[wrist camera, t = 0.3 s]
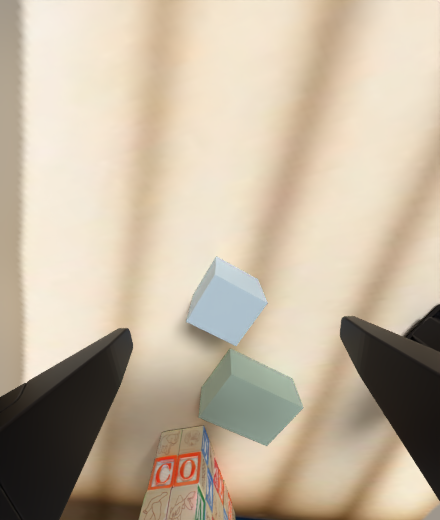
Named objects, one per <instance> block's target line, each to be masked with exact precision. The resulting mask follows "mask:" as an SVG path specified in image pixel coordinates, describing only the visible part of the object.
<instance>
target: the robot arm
mask: <svg viewBox="0 0 440 520" xmlns="http://www.w3.org/2000/svg"><path fill="white" fill-rule="evenodd" d="M340 338H341V340H342V342H343V344H344V346H345V348H346V350H347V352H348V354H349V356H350V358H351V360H352V362H353V364H354V366H355V368H356V370H357V372H358V373H359V375H360V377H361V378H362V380H363V382H364V383H365V385H366V386H367V388H368V389H369V391H370V393H371V394H372V396H373V397H374V399H375V400H376V402H377V404H378V405H379V407H380V408H381V410H382V411H383V413H384V415H385V416H386V418H387V419H388V421H389V422H390V424H391V426H392V427H393V429H394V430H395V432H396V433H397V435H398V437H399V438H400V440H401V441H402V443H403V444H404V446H405V447H406V449H407V451H408V452H409V454H410V455H411V457H412V458H413V460H414V462H415V463H416V465H417V466H418V468H419V469H420V471H421V473H422V474H423V476H424V477H425V479H426V480H427V482H428V484H429V485H430V487H431V488H432V490H433V491H434V493H435V495H436V496H437V498H438V499H439V501H440V305H438V306H437V307H436V308H435V309H434V310H433V311H432V312H431V313H430V314H429V315H428V316H427V317H426V318H425V319H424V320H423V321H422V322H421V323H420V324H419V325H418V326H417V327H416V328H415V329H414V330H413V331H412V332H411V333H410V334H409V335H408V336H407V337H406V338H405V337H402V336H400V335H398V334H395V333H393V332H390V331H388V330H386V329H383V328H381V327H379V326H376V325H374V324H371V323H369V322H367V321H364V320H362V319H359V318H357V317H355V316H344V317H343V318H342V320H341V328H340ZM132 350H133V342H132V338H131V334H130V330H129V329H128V328H119V329H117V330H115V331H113V332H112V333H110V334H108V335H107V336H105V337H103V338H101V339H100V340H98V341H96V342H94V343H93V344H91V345H89V346H88V347H86V348H84V349H82V350H81V351H79V352H77V353H76V354H74V355H72V356H70V357H69V358H67V359H65V360H63V361H62V362H60V363H58V364H57V365H55V366H53V367H51V368H50V369H48V370H46V371H45V372H43V373H41V374H39V375H38V376H36V377H34V378H33V379H31V380H29V381H28V382H27V383H24V384H22V385H20V386H19V387H17V388H15V389H14V390H12V391H10V392H8V393H7V394H5V395H3V396H1V397H0V520H59V519H60V517H61V515H62V513H63V510H64V508H65V506H66V504H67V502H68V499H69V497H70V495H71V493H72V491H73V488H74V486H75V484H76V482H77V480H78V477H79V475H80V473H81V471H82V469H83V466H84V464H85V462H86V460H87V458H88V455H89V453H90V451H91V449H92V447H93V444H94V442H95V440H96V438H97V436H98V433H99V431H100V429H101V427H102V425H103V422H104V420H105V418H106V416H107V414H108V411H109V409H110V407H111V405H112V403H113V400H114V398H115V396H116V394H117V391H118V389H119V387H120V385H121V382H122V379H123V376H124V373H125V370H126V367H127V365H128V362H129V359H130V356H131V353H132Z"/></svg>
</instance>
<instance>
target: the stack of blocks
mask: <svg viewBox="0 0 440 520" xmlns="http://www.w3.org/2000/svg"><path fill="white" fill-rule="evenodd" d="M139 520H235V512H234V509H233V506H232V502H231V499H230V496H229V493H228V490H227V487H226V484H225V481H224V480H223V478H222V475H221V473H220V470H219V468H218V465H217V462H216V460H215V457H214V452H213V449H212V447H211V444H210V441H209V439H208V436H207V433H206V430H205V427H204V426H198V427H191V428H185V429H178V430H172V431H166V432H162V434H161V438H160V442H159V445H158V450H157V455H156V459H155V461H154V465H153V469H152V473H151V477H150V481H149V485H148V490H147V492H146V494H145V497H144V501H143V505H142V509H141V513H140V517H139Z"/></svg>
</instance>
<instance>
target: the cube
mask: <svg viewBox="0 0 440 520" xmlns="http://www.w3.org/2000/svg"><path fill="white" fill-rule="evenodd" d="M267 303H268V302H267V300H266V298H265V295H264V293H263V290H262V288H261V286H260V283H259V281H258V279H256V278H255V277H253V276H251V275H249V274H247V273H246V272H244V271H242V270H240V269H238V268H237V267H235V266H233V265H231V264H229V263H228V262H226V261H224V260H222V259H220V258H218V257H217V256H216V258H215V259H214V261H213V263H212V264H211V266H210V268H209V269H208V271H207V273H206V274H205V276H204V278H203V279H202V281H201V283H200V284H199V286H198V288H197V289H196V291H195V293H194V294H193V297H192V301H191V305H190V309H189V312H188V316H187V320H186V322H188V323H190V324H192V325H194V326H196V327H198V328H200V329H202V330H204V331H206V332H208V333H210V334H212V335H214V336H216V337H218V338H220V339H222V340H225V341H227V342H229V343H231V344H233V345H235V346H237V344H238V343H239V341H240V340H241V339H242V337H243V336H244V335H245V333H246V332H247V331H248V329H249V328H250V326H251V325H252V324H253V322H254V321H255V320H256V318H257V317H258V316H259V314H260V313H261V311H262V310H263V309H264V307H265V306H266V305H267Z"/></svg>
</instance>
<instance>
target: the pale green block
mask: <svg viewBox="0 0 440 520" xmlns="http://www.w3.org/2000/svg"><path fill="white" fill-rule="evenodd" d="M302 409H303V405H302V402H301V400H300V397H299V395H298V392H297V389H296V387H295V384H294V381H293V379H292V378H290V377H288V376H286V375H284V374H282V373H280V372H278V371H276V370H274V369H272V368H269V367H267V366H265V365H263V364H261V363H259V362H257V361H255V360H253V359H251V358H249V357H247V356H245V355H243V354H241V353H239V352H237V351H234V350H232V349H229V351H228V352H227V353H226V355H225V356H224V357H223V359H222V360H221V362H220V363H219V364H218V366H217V367H216V368H215V370H214V371H213V373H212V374H211V375H210V377H209V378H208V379H207V381H206V382H205V384H204V385H203V386H202V388H201V398H200V408H199V418H201V419H203V420H205V421H208V422H210V423H213V424H215V425H217V426H220V427H222V428H225V429H227V430H229V431H232V432H234V433H237V434H239V435H241V436H244V437H246V438H248V439H251V440H253V441H256V442H258V443H260V444H263V445H265V446H267V445H268V444H269V443H270V442H271V441H272V440H273V439H274V438H275V437H276V436H277V435H278V434H279V433H280V432H281V431H282V430H283V429H284V428H285V427H286V426H287V425H288V424H289V422H290V421H291V420H292V419H293V418H294V417H295V416H296V415H297V414H298V413H299V412H300V411H301V410H302Z"/></svg>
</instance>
